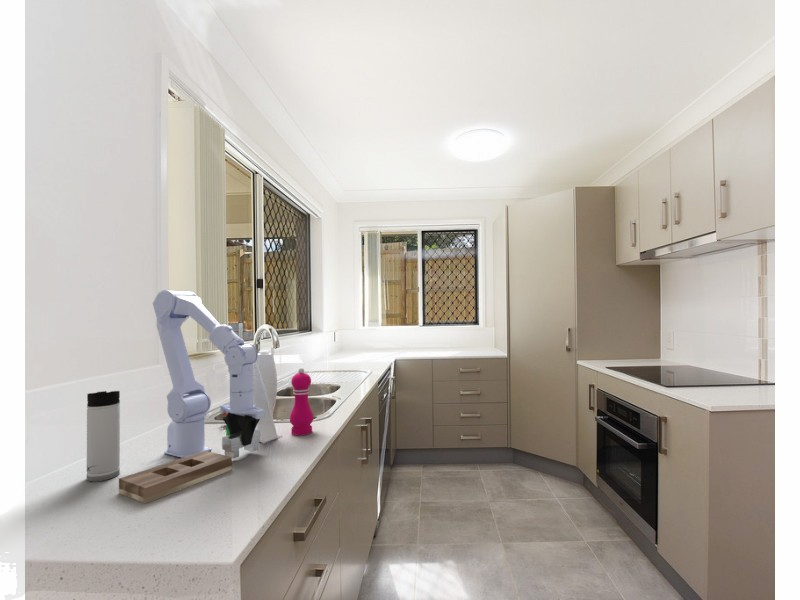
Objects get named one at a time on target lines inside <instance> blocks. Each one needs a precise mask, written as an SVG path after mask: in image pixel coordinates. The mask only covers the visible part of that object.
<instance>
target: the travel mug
mask: <svg viewBox="0 0 800 600" xmlns="http://www.w3.org/2000/svg"><path fill="white" fill-rule="evenodd" d="M86 395H87V397H86V398H87V404H86V481H88V482H91V481H92V482H95V483H97V482H103V481H107V480H111V479H113V478H116V477H117V476H119V474H120V472H121V471H120V468H121V467H120V466H121V465H120V463H121V462H120V459H121V456H120V454H121V451H120V450H121V446H120V445H121V444H120V443H121V441H120V440H121V430H120V429H121V415H120V414H121V405H120V404H121V399H120V396H121V394H120V390H113V391H111V390H110V391H109V392H108V391H107V390H105V391H104V390H103V391H97V392H90V393H86Z"/></svg>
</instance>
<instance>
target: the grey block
mask: <svg viewBox="0 0 800 600" xmlns="http://www.w3.org/2000/svg"><path fill="white" fill-rule="evenodd" d="M259 443H260V430H257V429H255V431H254V434H253V438H252V442H251V444H249V445H246V446H243V443H242V434H241V432H238V433H234V434H231V435H228V436H222V437H221V446H222V447H221V449H222V450H224V455H225V456H230V457H232V460H233V459H237V458H239V457H240V449H243V450H245V451H248V452H249V451H250V452H256V451H258V450H259Z"/></svg>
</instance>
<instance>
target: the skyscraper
mask: <svg viewBox="0 0 800 600" xmlns="http://www.w3.org/2000/svg"><path fill="white" fill-rule="evenodd" d="M274 355H275V347H274V346H273V345H271V347H270V350H259V351H258V357H257V360H256V362H255V363H253V405H256V408H259V409H261V410H264V418H261V419H260V420H259V422H258V424H257V426H256V428H255V429H257V430H260V442H261V444H266V443H268V441H269V442H271V440H272V441H274V439H275V440H278V439H281V438H283V436H281V435H278V433H277V429H276V425H275V421H274V417H273V415H274V410H275V407H276V400H277V394H278V393H277V392H278V376H277V375H278V374H277V368H276V362H275V358H274ZM280 437H281V438H280ZM260 442H259V443H260ZM265 442H266V443H265Z"/></svg>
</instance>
